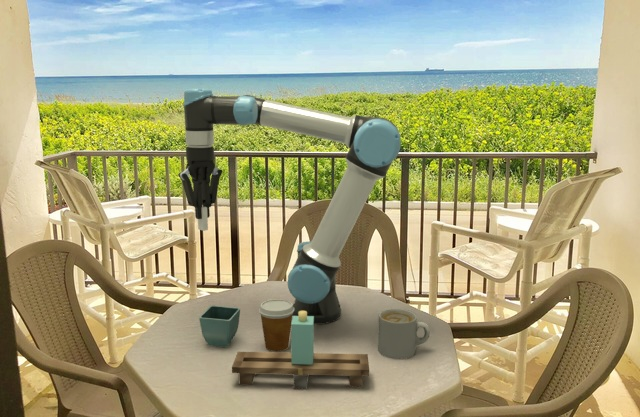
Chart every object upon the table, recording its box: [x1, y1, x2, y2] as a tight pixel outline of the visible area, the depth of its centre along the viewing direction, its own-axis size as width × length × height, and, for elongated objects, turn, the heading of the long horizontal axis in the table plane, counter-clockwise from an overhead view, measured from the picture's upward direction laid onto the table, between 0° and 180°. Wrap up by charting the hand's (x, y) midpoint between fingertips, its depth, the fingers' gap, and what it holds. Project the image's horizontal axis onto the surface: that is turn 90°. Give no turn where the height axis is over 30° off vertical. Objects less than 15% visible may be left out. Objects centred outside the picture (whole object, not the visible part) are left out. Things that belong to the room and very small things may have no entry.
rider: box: [290, 311, 315, 365], centre depth 136 cm, size 5×5×13 cm
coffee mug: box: [377, 308, 431, 360], centre depth 152 cm, size 13×10×10 cm
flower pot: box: [198, 305, 241, 348], centre depth 156 cm, size 9×9×9 cm
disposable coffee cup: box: [258, 298, 294, 352], centre depth 154 cm, size 10×10×12 cm
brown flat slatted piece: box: [231, 351, 370, 390], centre depth 137 cm, size 32×9×5 cm, turn 88°
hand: (203, 229), depth 162 cm, fingers closed
